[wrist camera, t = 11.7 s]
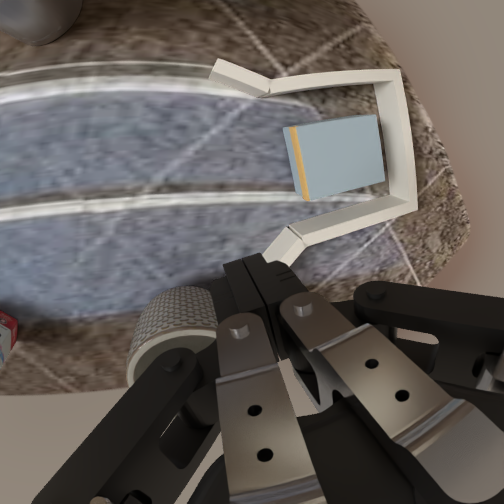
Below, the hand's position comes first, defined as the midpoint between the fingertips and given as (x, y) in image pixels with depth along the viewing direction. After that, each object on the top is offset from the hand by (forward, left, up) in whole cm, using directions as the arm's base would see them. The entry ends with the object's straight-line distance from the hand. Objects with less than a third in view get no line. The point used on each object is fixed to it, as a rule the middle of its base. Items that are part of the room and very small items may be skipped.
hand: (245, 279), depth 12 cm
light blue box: (0, +16, -25) cm, 29 cm away
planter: (+16, -7, -25) cm, 31 cm away
